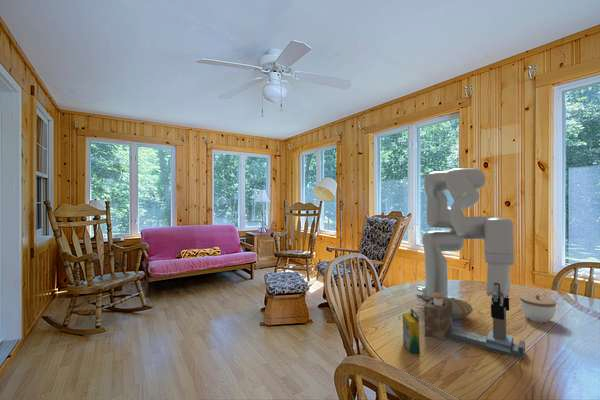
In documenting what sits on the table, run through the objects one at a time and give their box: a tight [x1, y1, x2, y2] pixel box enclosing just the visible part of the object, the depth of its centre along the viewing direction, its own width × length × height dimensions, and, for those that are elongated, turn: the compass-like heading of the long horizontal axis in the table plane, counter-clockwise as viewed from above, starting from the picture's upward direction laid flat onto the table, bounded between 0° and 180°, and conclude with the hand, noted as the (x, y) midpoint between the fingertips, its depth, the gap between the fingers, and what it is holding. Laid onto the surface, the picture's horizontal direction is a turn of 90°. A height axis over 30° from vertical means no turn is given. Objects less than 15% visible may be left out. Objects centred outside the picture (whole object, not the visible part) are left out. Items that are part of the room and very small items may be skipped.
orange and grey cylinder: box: [433, 293, 443, 307], centre depth 103 cm, size 3×3×7 cm
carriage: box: [486, 308, 514, 353], centre depth 91 cm, size 6×7×11 cm
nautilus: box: [415, 296, 474, 320], centre depth 118 cm, size 8×22×15 cm
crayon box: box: [402, 307, 421, 355], centre depth 93 cm, size 7×3×12 cm, turn 178°
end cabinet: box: [423, 299, 453, 341], centre depth 103 cm, size 6×10×10 cm, turn 138°
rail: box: [445, 326, 526, 360], centre depth 94 cm, size 21×5×3 cm, turn 48°
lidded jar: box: [519, 294, 557, 323], centre depth 113 cm, size 11×11×9 cm
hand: (500, 313), depth 91 cm, fingers open, 9 cm apart
